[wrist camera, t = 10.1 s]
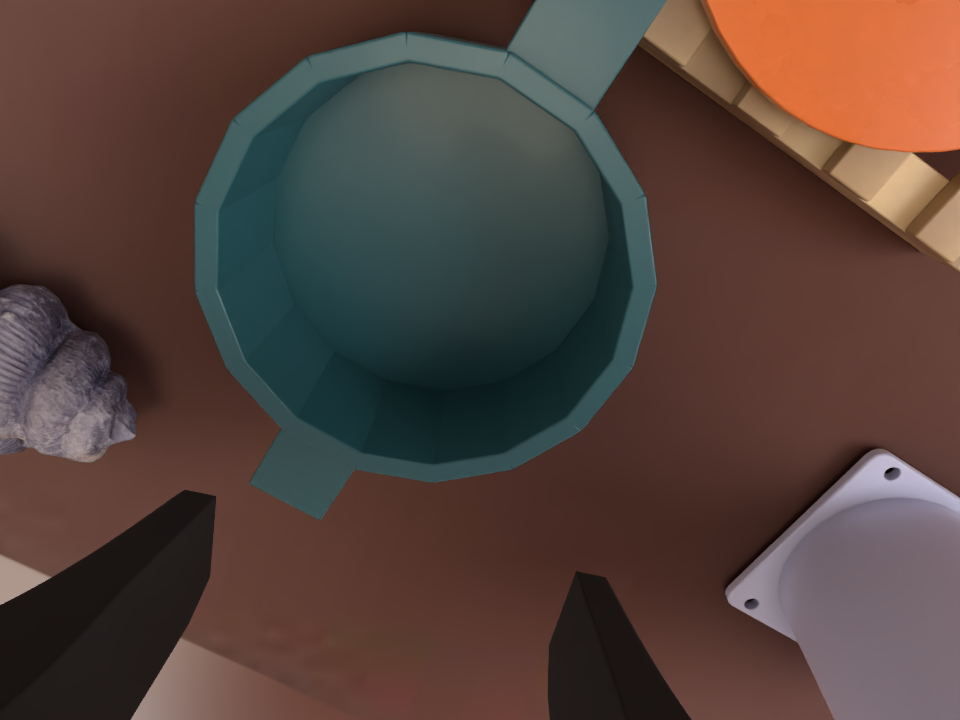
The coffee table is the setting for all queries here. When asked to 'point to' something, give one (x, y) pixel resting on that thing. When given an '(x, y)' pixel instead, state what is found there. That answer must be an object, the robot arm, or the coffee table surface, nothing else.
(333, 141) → the pot
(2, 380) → the seashell
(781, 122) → the rack
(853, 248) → the coffee table surface
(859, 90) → the lid
